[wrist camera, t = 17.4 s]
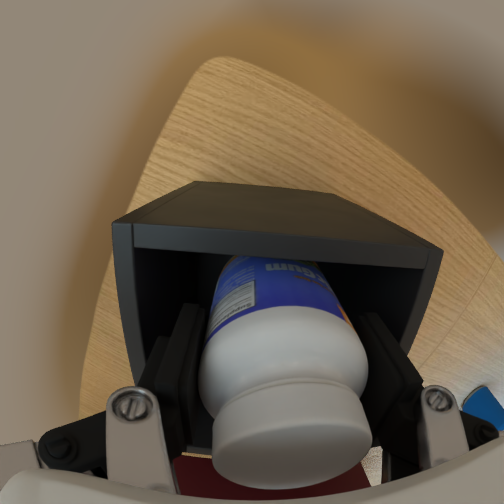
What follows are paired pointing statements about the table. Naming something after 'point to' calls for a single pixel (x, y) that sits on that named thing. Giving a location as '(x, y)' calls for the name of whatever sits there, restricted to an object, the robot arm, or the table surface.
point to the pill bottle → (282, 376)
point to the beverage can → (485, 407)
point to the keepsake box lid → (217, 487)
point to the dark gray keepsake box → (267, 246)
